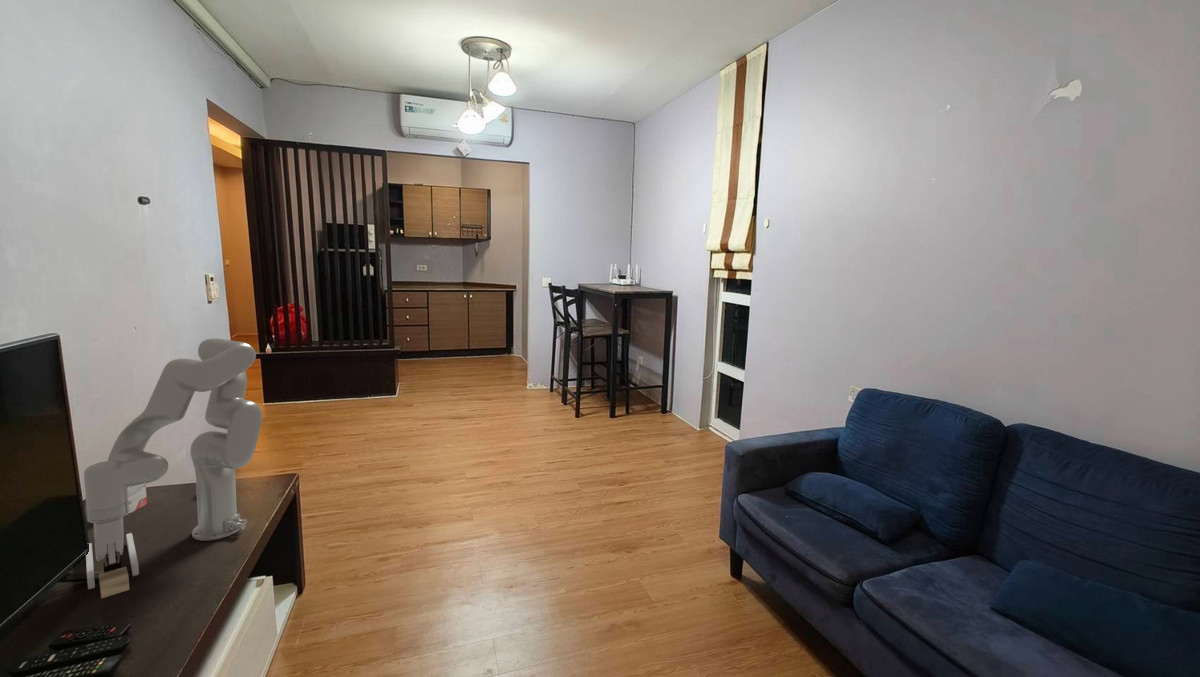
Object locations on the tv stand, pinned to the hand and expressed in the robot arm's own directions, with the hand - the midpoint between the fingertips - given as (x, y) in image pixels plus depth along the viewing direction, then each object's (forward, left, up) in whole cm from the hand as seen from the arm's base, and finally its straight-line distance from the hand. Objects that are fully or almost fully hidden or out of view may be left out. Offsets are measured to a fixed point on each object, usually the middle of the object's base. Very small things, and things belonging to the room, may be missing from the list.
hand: (113, 576), depth 128 cm
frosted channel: (+7, -6, -1) cm, 9 cm away
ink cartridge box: (+30, -32, -1) cm, 44 cm away
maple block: (-4, +3, -1) cm, 5 cm away
